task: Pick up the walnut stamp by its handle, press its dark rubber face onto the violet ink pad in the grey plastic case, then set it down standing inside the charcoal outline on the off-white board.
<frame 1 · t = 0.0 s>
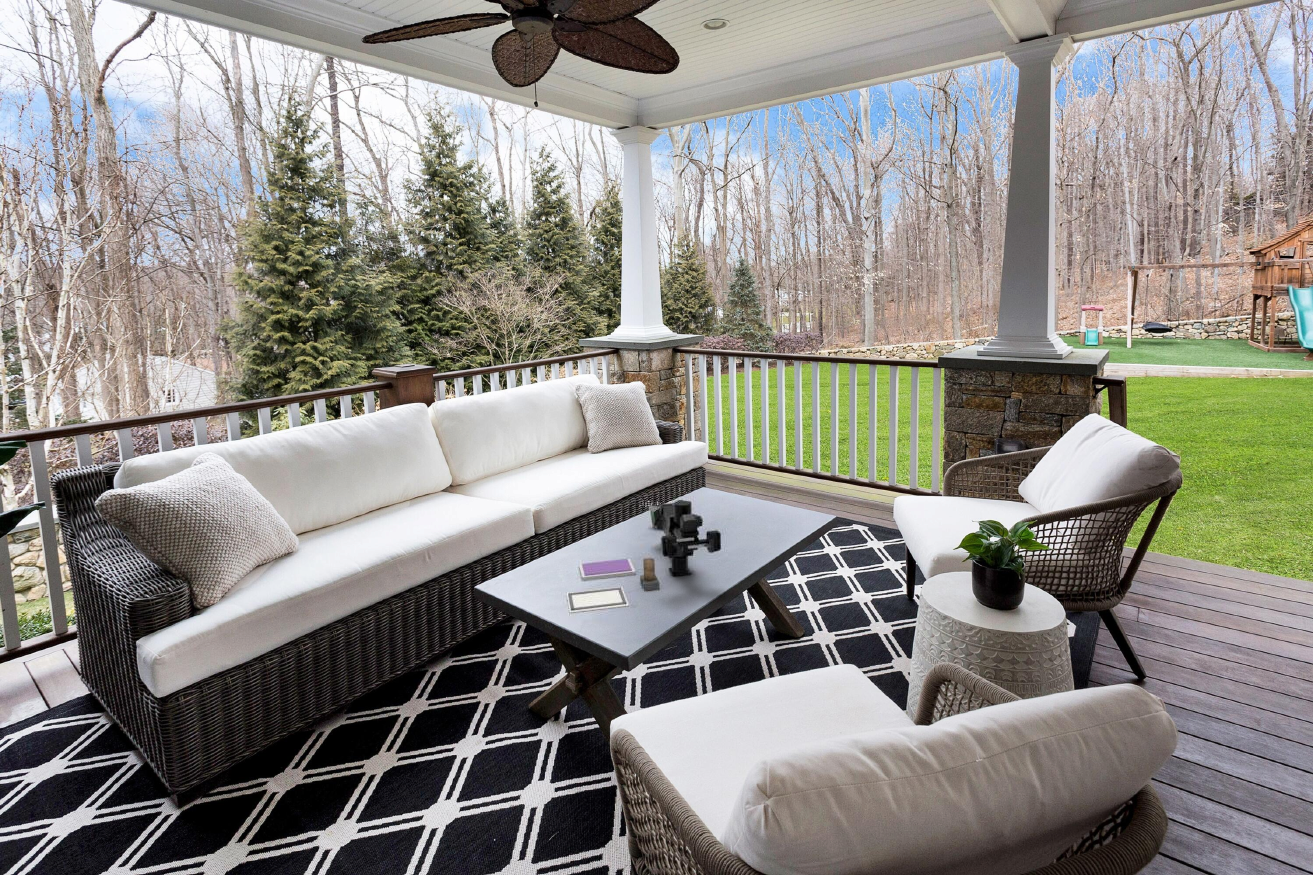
hand: (697, 552, 207), 17 cm above the table, tool horizontal, fingers open, 9 cm apart
ink pad: (606, 570, 238), on the table
marked board: (596, 599, 215), on the table
stamp: (649, 585, 225), on the table
food container: (666, 528, 279), on the table
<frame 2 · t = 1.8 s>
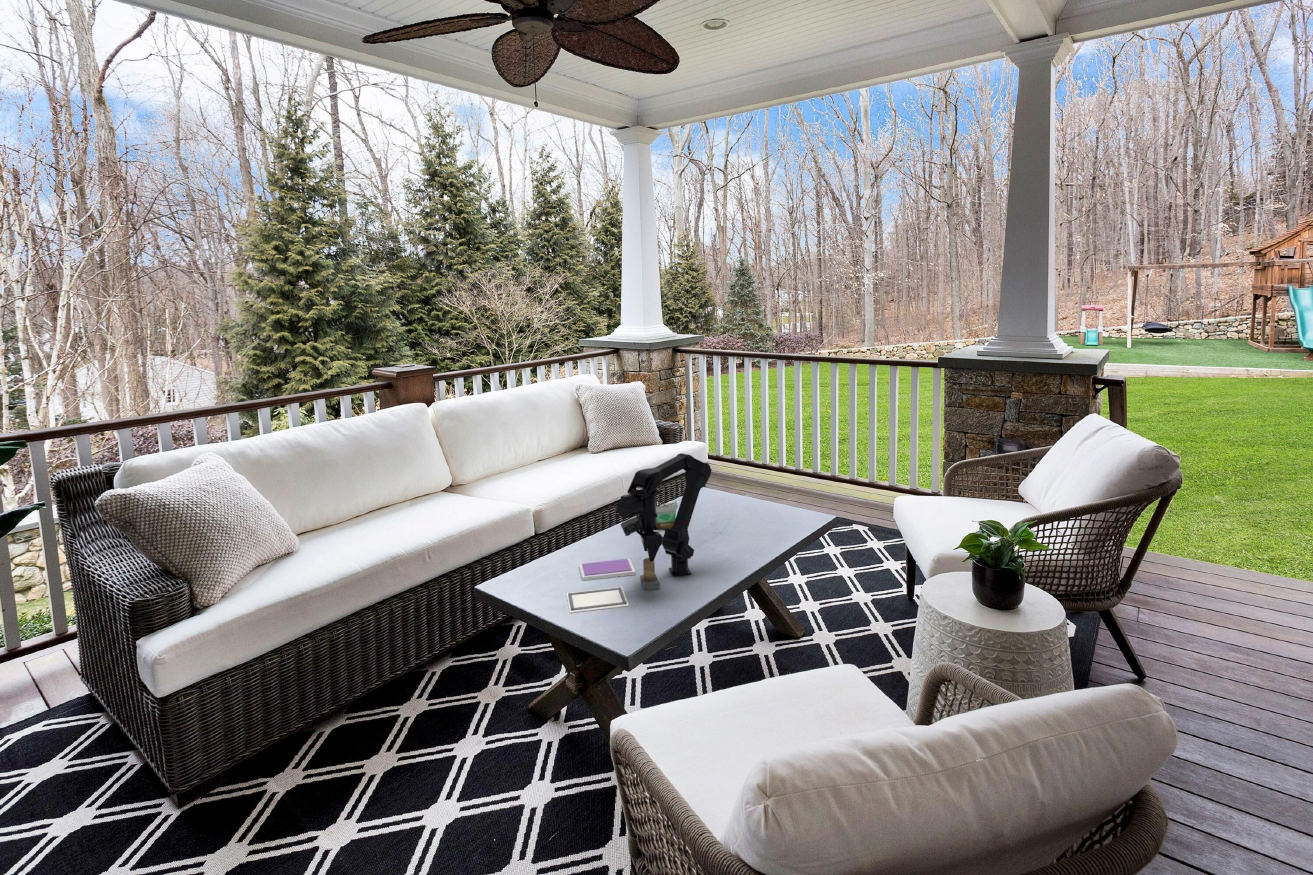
hand: (648, 556, 223), 10 cm above the table, tool pointing down, fingers open, 9 cm apart
nothing on the table moved.
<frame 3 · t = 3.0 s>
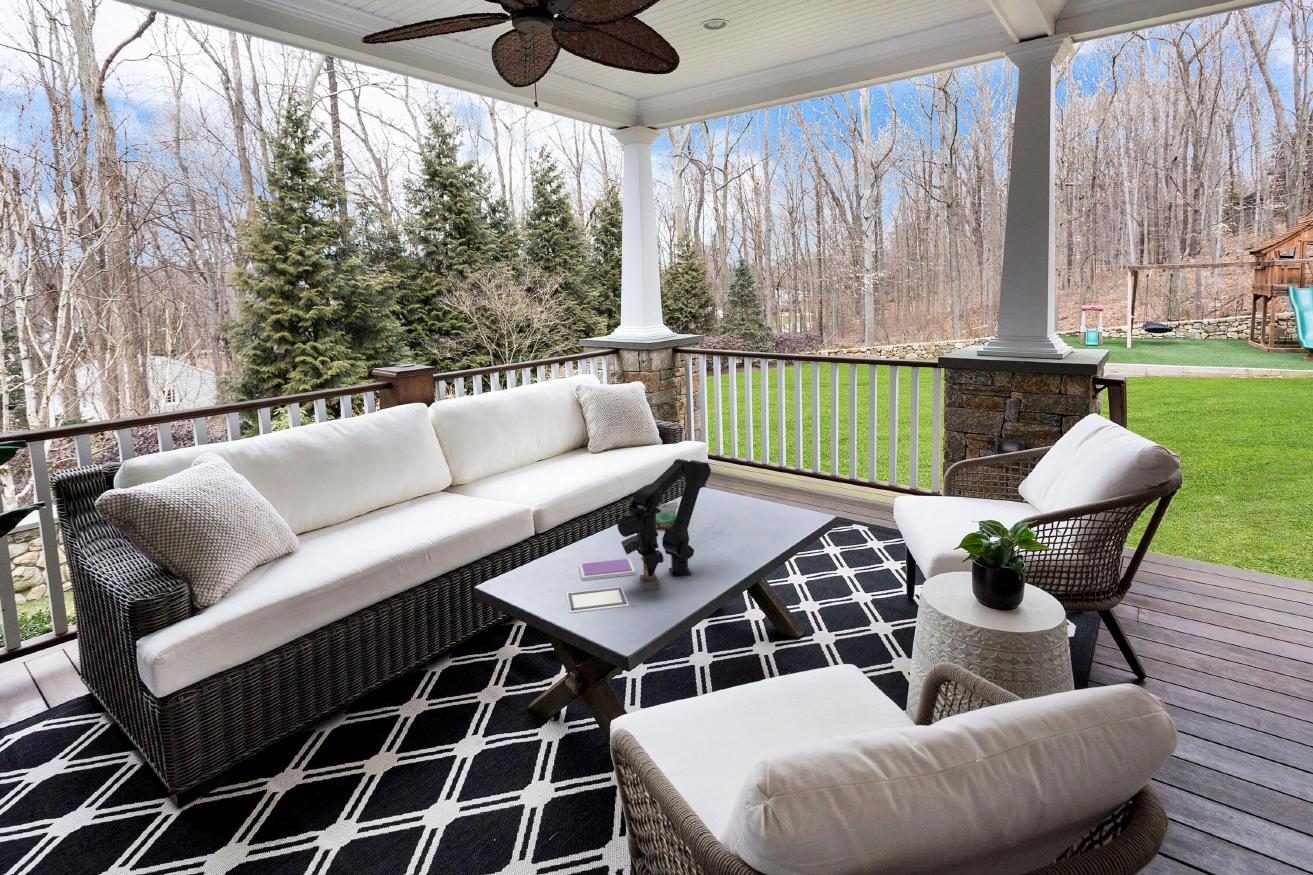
hand: (649, 574, 224), 4 cm above the table, tool pointing down, fingers closed on stamp, 4 cm apart
stamp: (649, 585, 225), on the table, touching gripper
everything else where it was.
when the fingers open (5 cm above the table, at t = 11.6 s): stamp drops 1 cm, resting on marked board.
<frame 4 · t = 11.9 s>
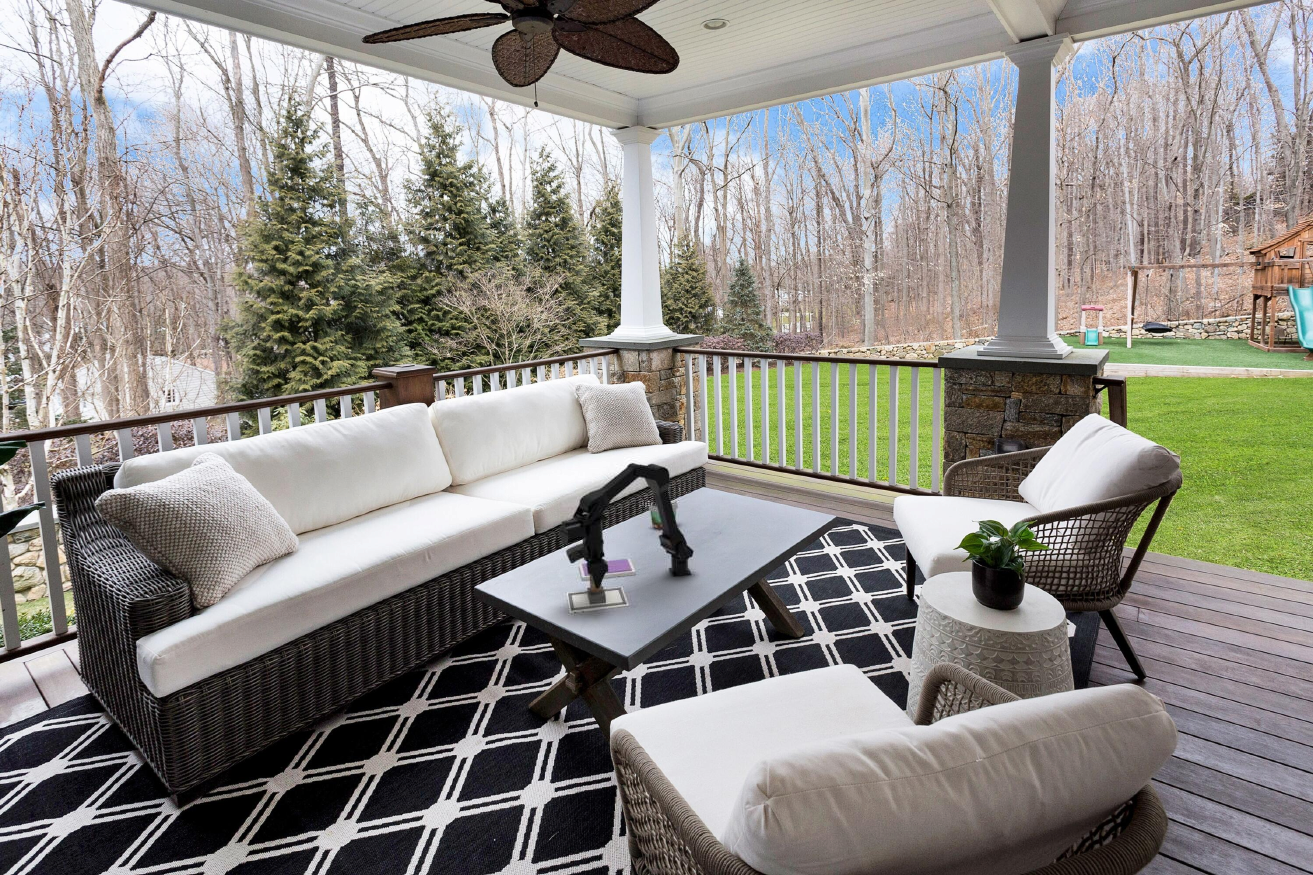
hand: (596, 583, 214), 5 cm above the table, tool pointing down, fingers open, 7 cm apart
stamp: (596, 598, 215), resting on marked board
everything else where it was.
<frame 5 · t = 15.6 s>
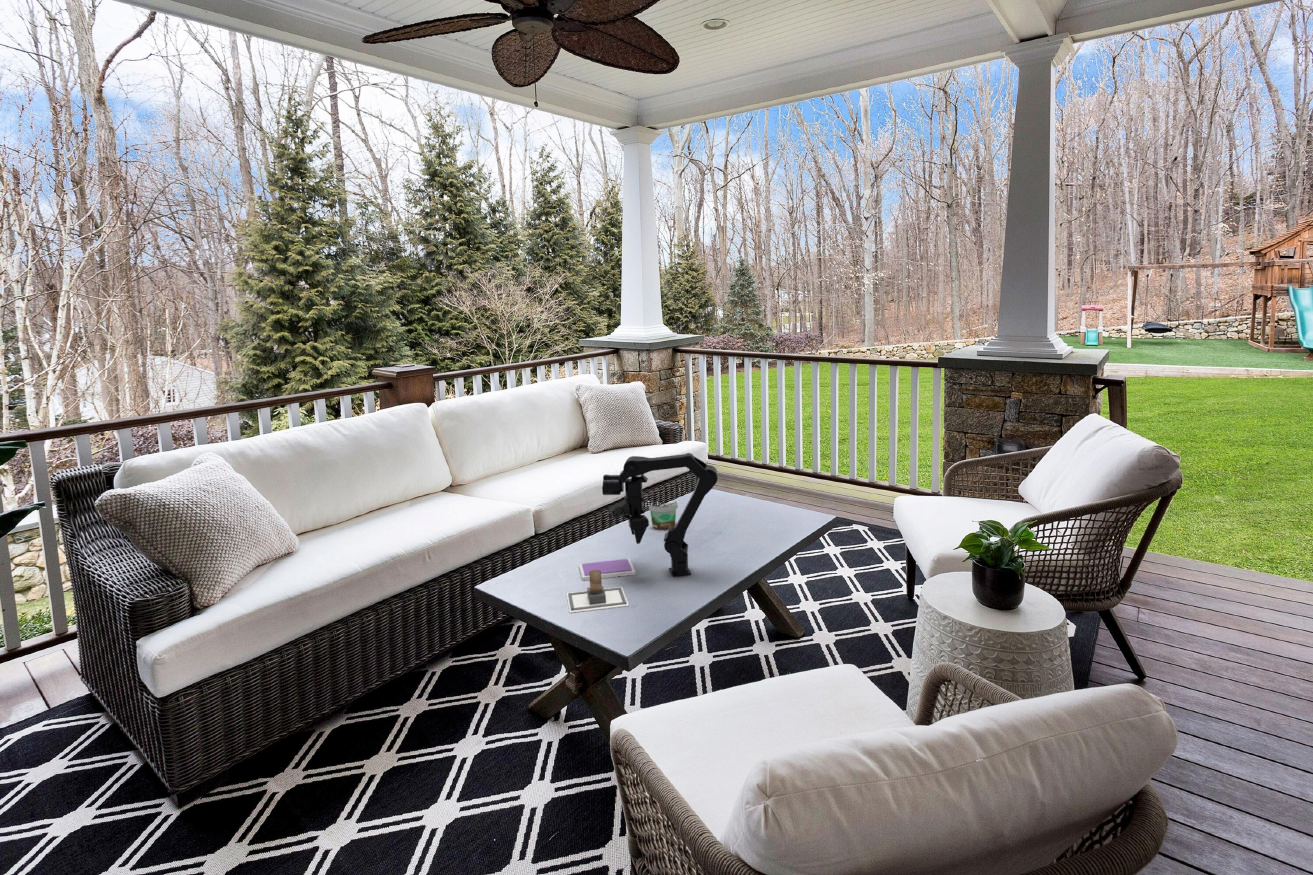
hand: (635, 538, 233), 12 cm above the table, tool pointing down, fingers open, 9 cm apart
nothing on the table moved.
at the end: stamp 0.0 cm off-centre on the marked board, point 0.3 cm above the marked board's base; stamp tilted 0°; the gripper is holding nothing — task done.
